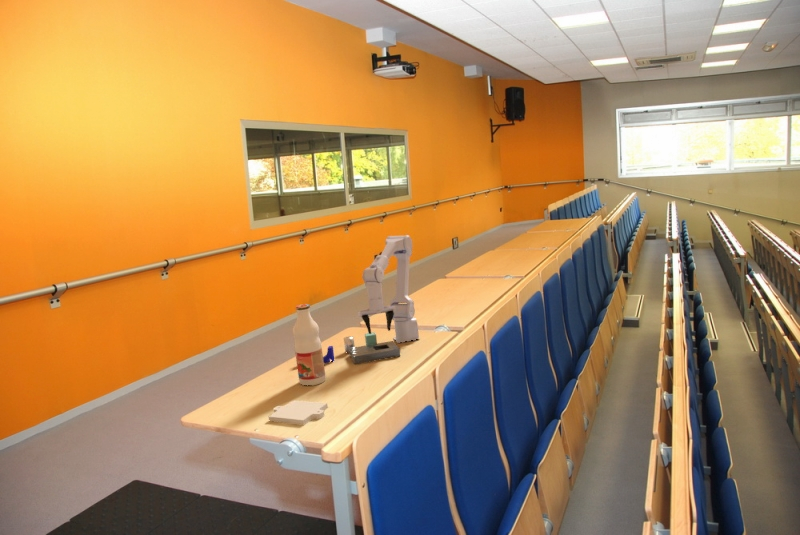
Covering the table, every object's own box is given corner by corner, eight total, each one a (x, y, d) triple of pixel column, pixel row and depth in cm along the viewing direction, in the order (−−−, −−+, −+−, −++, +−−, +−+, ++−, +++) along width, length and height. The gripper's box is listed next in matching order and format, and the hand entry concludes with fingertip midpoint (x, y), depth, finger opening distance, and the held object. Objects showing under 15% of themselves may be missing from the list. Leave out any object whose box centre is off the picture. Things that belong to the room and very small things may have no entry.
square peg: (375, 346, 252) (374, 332, 251) (377, 348, 248) (376, 334, 247) (366, 347, 251) (364, 333, 250) (368, 350, 247) (366, 336, 246)
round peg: (354, 349, 250) (352, 335, 249) (355, 352, 246) (354, 338, 245) (344, 351, 249) (343, 337, 248) (346, 354, 245) (344, 339, 244)
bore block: (393, 348, 246) (392, 340, 246) (400, 356, 235) (399, 348, 234) (349, 355, 243) (348, 348, 242) (354, 364, 231) (353, 356, 231)
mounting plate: (334, 409, 190) (333, 403, 190) (311, 427, 179) (310, 421, 178) (288, 405, 198) (287, 399, 198) (262, 421, 187) (261, 415, 186)
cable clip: (302, 366, 236) (300, 351, 235) (304, 362, 240) (302, 348, 239) (332, 364, 235) (330, 349, 234) (334, 360, 239) (332, 345, 238)
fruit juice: (328, 382, 214) (318, 305, 209) (302, 388, 211) (291, 310, 206) (323, 375, 223) (313, 300, 218) (297, 380, 220) (287, 305, 215)
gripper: (358, 302, 230) (363, 337, 232) (396, 296, 233) (399, 331, 236) (355, 299, 237) (359, 332, 239) (391, 293, 240) (395, 326, 242)
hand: (379, 331), depth 238 cm, fingers open, 7 cm apart
